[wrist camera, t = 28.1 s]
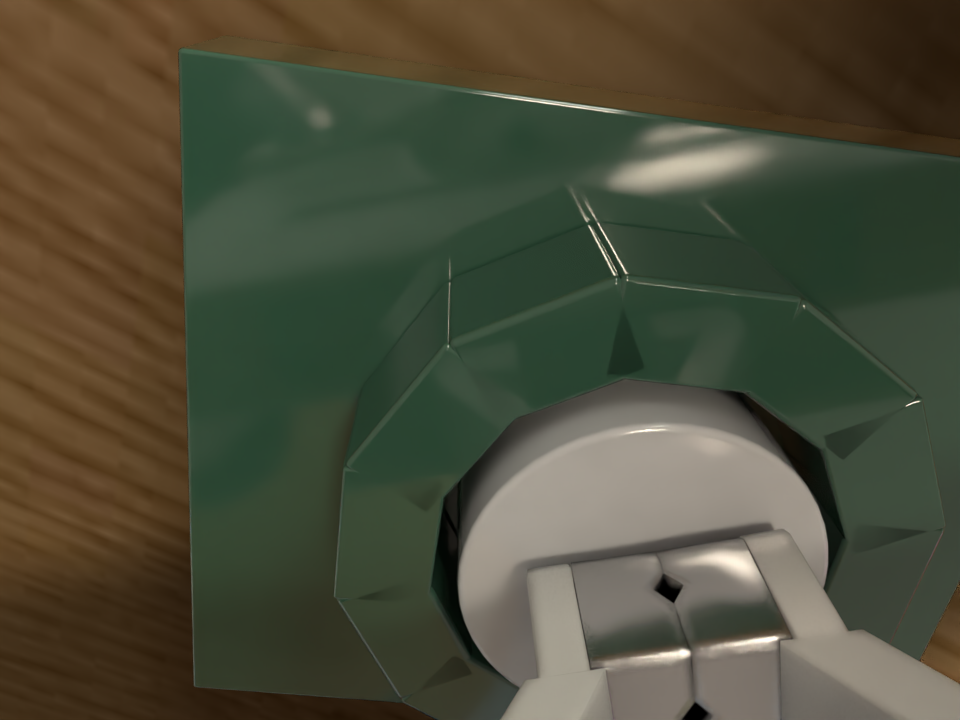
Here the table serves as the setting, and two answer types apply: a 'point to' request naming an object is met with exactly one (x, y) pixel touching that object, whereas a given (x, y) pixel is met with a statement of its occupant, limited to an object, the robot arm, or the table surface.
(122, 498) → the table surface
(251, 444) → the button base
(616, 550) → the white short cylinder
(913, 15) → the table surface
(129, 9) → the table surface
